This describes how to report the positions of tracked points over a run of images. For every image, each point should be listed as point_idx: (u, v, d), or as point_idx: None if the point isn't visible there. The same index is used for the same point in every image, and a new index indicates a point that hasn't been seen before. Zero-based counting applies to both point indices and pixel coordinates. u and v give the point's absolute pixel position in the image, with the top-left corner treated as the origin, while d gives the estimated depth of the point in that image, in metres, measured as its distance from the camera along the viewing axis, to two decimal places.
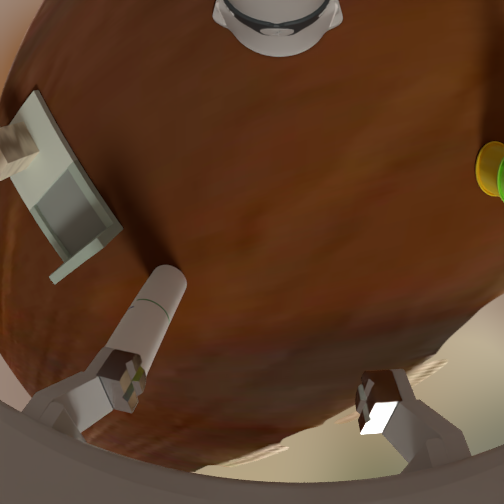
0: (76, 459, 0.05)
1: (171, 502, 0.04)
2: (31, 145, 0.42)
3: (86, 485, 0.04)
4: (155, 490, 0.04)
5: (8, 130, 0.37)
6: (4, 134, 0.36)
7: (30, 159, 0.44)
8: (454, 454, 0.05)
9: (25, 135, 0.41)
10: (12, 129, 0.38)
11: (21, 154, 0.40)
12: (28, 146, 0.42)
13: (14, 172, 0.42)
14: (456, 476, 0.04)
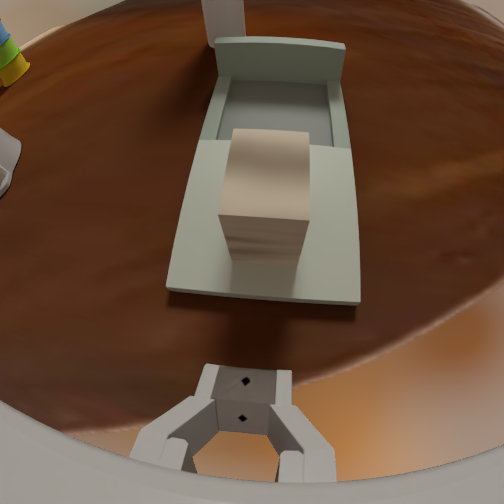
0: (76, 458, 0.05)
1: (171, 502, 0.04)
2: None
3: (86, 485, 0.04)
4: (155, 490, 0.04)
5: None
6: None
7: None
8: (313, 474, 0.06)
9: None
10: None
11: None
12: None
13: None
14: (456, 476, 0.04)
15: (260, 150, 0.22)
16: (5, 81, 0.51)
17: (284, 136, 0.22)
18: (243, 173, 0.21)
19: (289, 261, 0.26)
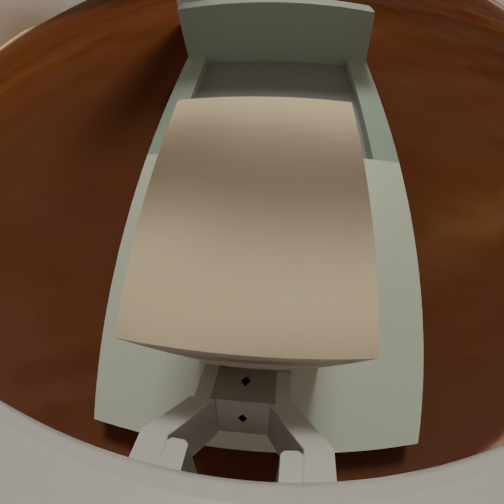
0: (76, 458, 0.05)
1: (171, 502, 0.04)
2: None
3: (86, 485, 0.04)
4: (155, 490, 0.04)
5: None
6: None
7: None
8: (313, 474, 0.06)
9: None
10: None
11: None
12: None
13: None
14: (456, 476, 0.04)
15: (234, 144, 0.08)
16: None
17: (295, 110, 0.09)
18: (187, 208, 0.08)
19: None
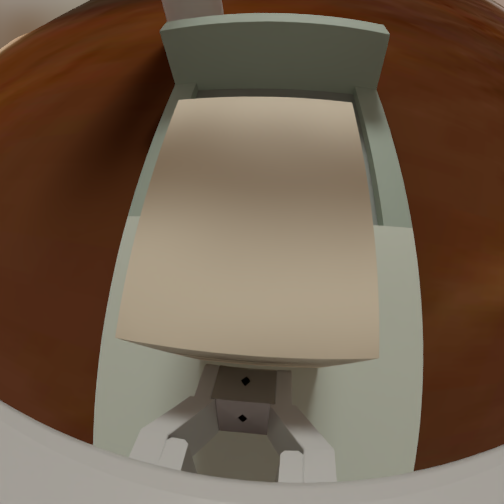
0: (76, 459, 0.05)
1: (171, 502, 0.04)
2: None
3: (86, 485, 0.04)
4: (155, 490, 0.04)
5: None
6: None
7: None
8: (313, 474, 0.06)
9: None
10: None
11: None
12: None
13: None
14: (456, 476, 0.04)
15: (235, 144, 0.08)
16: None
17: (295, 110, 0.09)
18: (188, 208, 0.08)
19: None
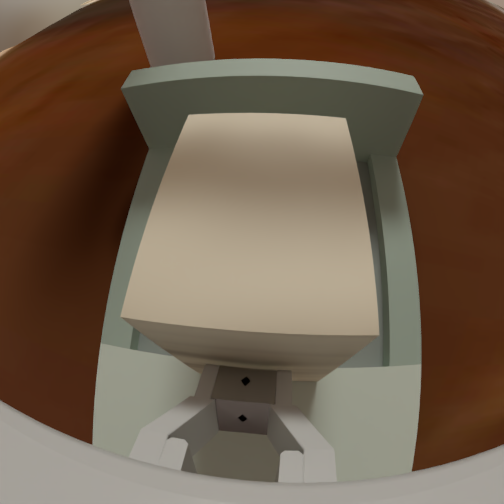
0: (76, 459, 0.05)
1: (171, 502, 0.04)
2: None
3: (86, 485, 0.04)
4: (155, 490, 0.04)
5: None
6: None
7: None
8: (313, 474, 0.06)
9: None
10: None
11: None
12: None
13: None
14: (456, 476, 0.04)
15: (240, 151, 0.09)
16: None
17: (294, 124, 0.10)
18: (196, 203, 0.08)
19: (304, 378, 0.13)
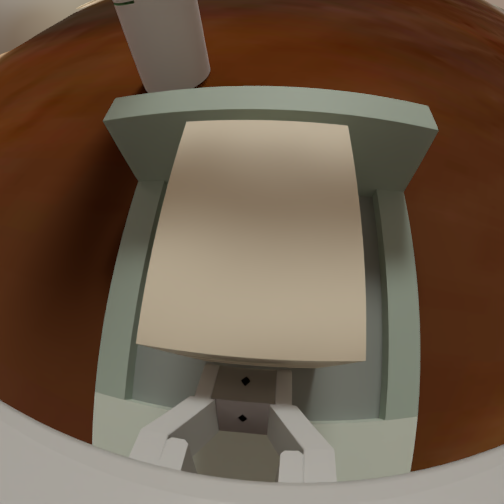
0: (76, 459, 0.05)
1: (171, 502, 0.04)
2: None
3: (86, 485, 0.04)
4: (155, 490, 0.04)
5: None
6: None
7: None
8: (313, 474, 0.06)
9: None
10: None
11: None
12: None
13: None
14: (456, 476, 0.04)
15: (240, 168, 0.09)
16: None
17: (295, 135, 0.10)
18: (199, 228, 0.09)
19: (303, 367, 0.14)
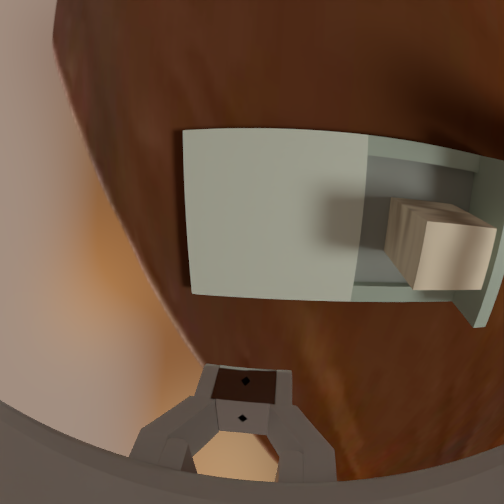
0: (76, 458, 0.05)
1: (171, 502, 0.04)
2: (445, 205, 0.27)
3: (86, 485, 0.04)
4: (155, 490, 0.04)
5: (420, 209, 0.24)
6: (432, 214, 0.23)
7: None
8: (313, 474, 0.06)
9: (424, 203, 0.27)
10: (415, 207, 0.25)
11: (469, 215, 0.23)
12: (447, 206, 0.26)
13: None
14: (456, 476, 0.04)
15: (474, 252, 0.21)
16: None
17: (481, 270, 0.21)
18: (457, 239, 0.21)
19: (388, 248, 0.29)
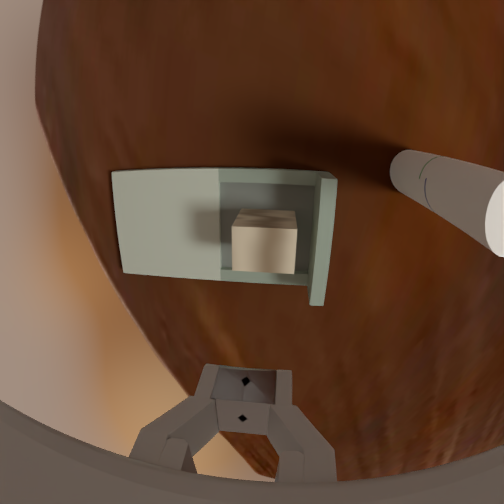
0: (76, 459, 0.05)
1: (171, 502, 0.04)
2: (282, 212, 0.44)
3: (86, 485, 0.04)
4: (155, 490, 0.04)
5: (245, 217, 0.41)
6: (248, 221, 0.39)
7: None
8: (313, 474, 0.06)
9: (263, 211, 0.44)
10: (246, 215, 0.42)
11: (290, 219, 0.40)
12: (281, 213, 0.43)
13: None
14: (456, 476, 0.04)
15: (277, 246, 0.37)
16: None
17: (289, 259, 0.38)
18: (259, 237, 0.37)
19: None
